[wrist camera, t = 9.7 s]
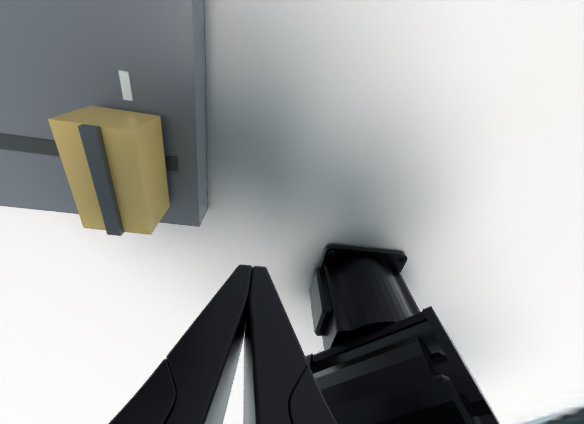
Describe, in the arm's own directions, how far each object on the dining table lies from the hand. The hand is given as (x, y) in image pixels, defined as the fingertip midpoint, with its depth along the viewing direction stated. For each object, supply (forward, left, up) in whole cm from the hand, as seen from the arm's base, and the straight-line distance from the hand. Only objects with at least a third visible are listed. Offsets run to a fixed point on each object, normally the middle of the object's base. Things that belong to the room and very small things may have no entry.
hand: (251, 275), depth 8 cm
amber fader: (+7, 0, -7) cm, 10 cm away
